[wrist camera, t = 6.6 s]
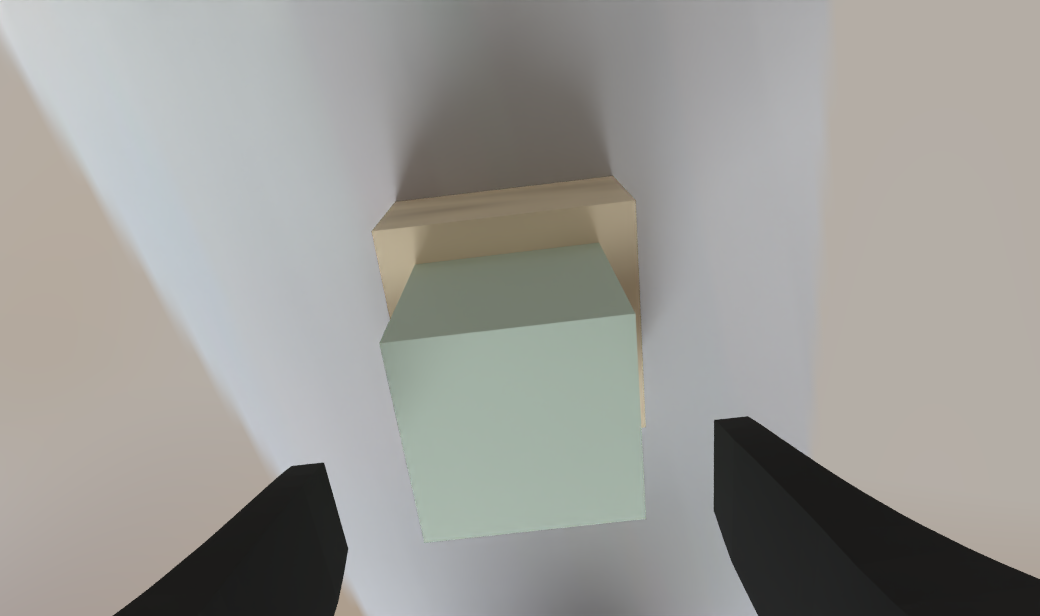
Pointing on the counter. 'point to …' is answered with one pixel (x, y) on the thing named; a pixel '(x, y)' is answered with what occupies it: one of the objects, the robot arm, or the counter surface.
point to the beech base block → (513, 232)
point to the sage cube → (517, 393)
